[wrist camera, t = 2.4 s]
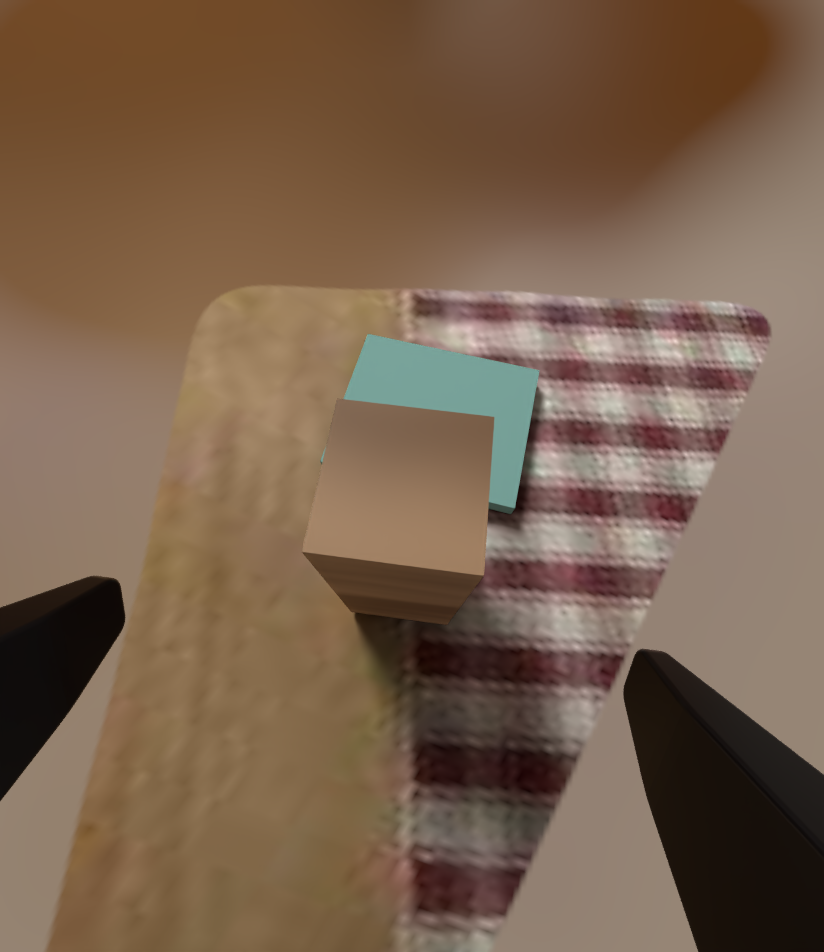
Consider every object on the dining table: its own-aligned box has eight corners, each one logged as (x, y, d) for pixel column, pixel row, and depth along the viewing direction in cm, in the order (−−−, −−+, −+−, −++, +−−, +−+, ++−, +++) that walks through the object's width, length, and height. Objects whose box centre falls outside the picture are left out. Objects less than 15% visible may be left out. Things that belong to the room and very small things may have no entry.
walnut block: (447, 625, 19) (483, 575, 10) (351, 611, 19) (301, 551, 10) (455, 532, 21) (494, 416, 12) (367, 521, 21) (337, 398, 12)
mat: (511, 514, 21) (515, 508, 20) (323, 468, 22) (320, 461, 21) (535, 379, 24) (539, 370, 23) (368, 343, 25) (367, 334, 24)
